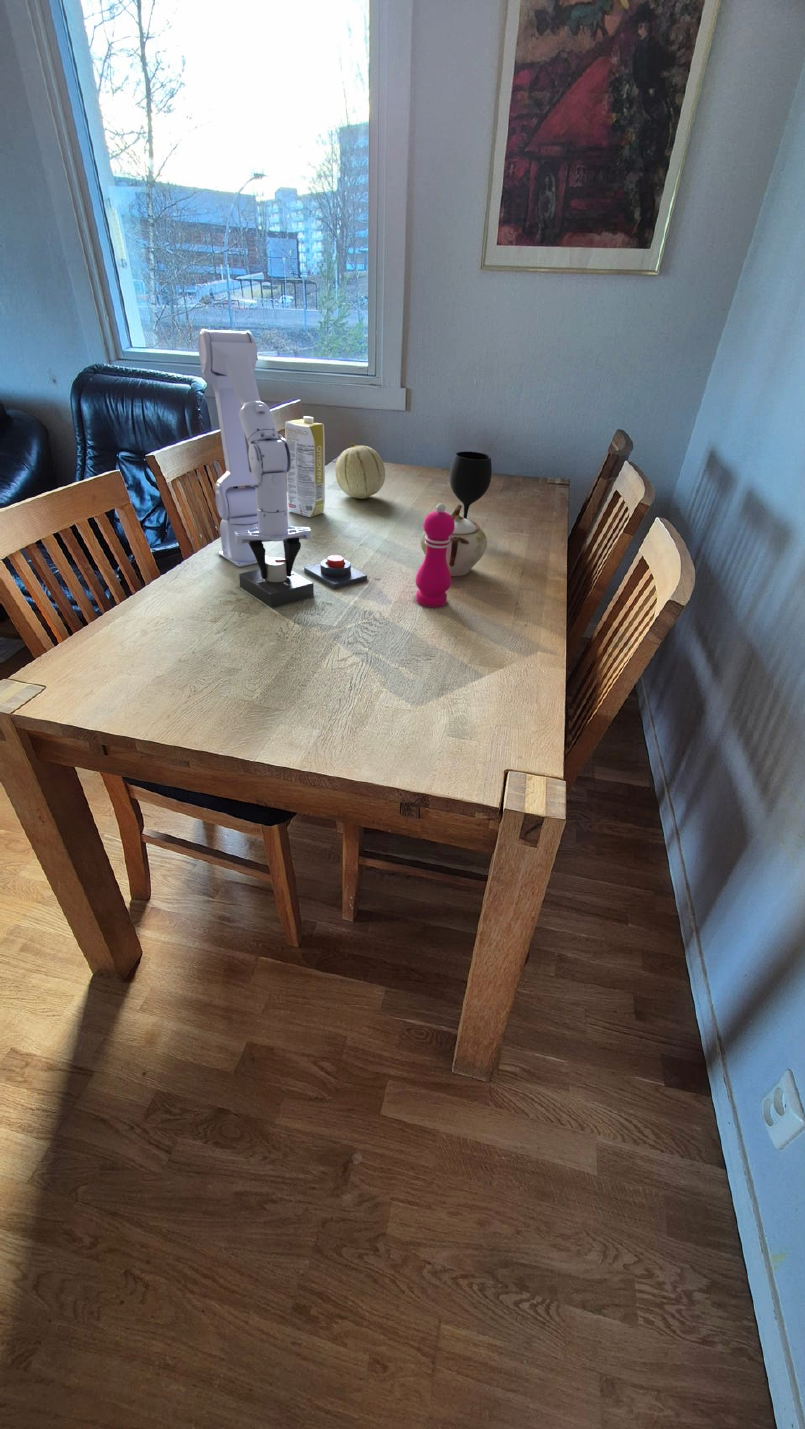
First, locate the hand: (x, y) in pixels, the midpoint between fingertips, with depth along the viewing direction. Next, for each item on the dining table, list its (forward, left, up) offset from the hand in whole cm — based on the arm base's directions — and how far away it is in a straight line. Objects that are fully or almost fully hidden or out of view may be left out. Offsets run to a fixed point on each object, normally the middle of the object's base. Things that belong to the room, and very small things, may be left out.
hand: (275, 575), depth 124 cm
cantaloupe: (-44, +57, -4) cm, 72 cm away
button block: (0, +15, -3) cm, 15 cm away
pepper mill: (+21, +24, -4) cm, 32 cm away
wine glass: (-4, +60, -4) cm, 60 cm away
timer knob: (0, 0, 0) cm, 0 cm away
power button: (0, +15, -1) cm, 15 cm away
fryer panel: (0, 0, -3) cm, 3 cm away
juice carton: (-40, +35, -4) cm, 53 cm away
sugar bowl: (+11, +40, -4) cm, 42 cm away
